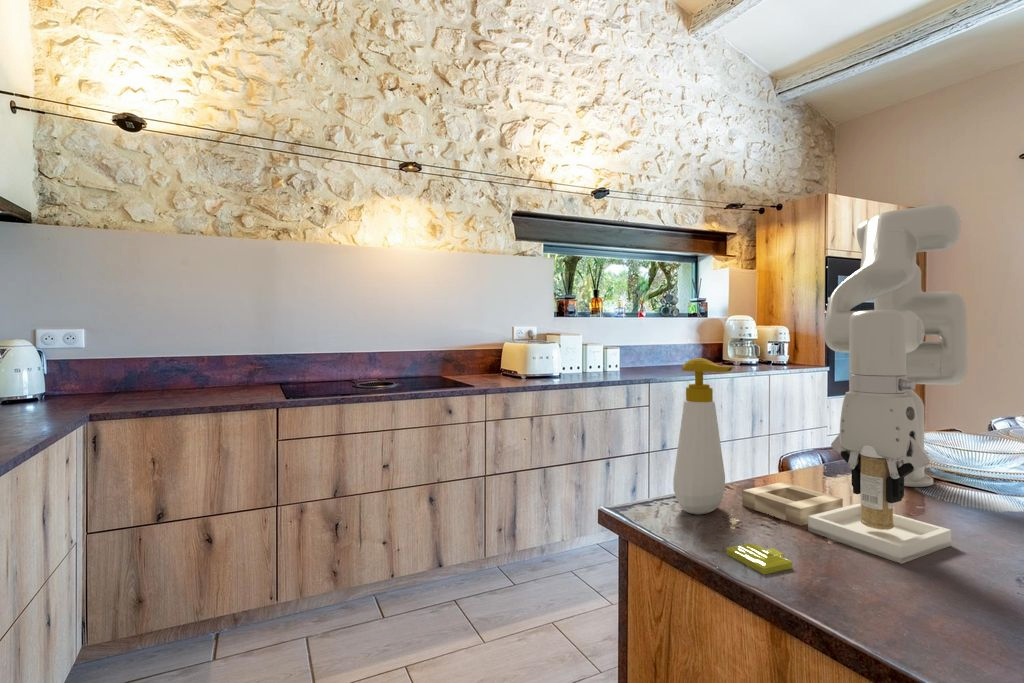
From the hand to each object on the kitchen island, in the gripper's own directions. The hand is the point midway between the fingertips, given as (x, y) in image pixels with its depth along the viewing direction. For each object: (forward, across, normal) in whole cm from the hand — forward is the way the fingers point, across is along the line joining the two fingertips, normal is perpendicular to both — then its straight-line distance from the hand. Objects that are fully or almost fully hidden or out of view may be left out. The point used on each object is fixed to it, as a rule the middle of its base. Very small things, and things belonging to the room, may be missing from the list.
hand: (876, 495), depth 83 cm
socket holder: (+7, +15, 0) cm, 16 cm away
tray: (+7, 0, 0) cm, 7 cm away
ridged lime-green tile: (+8, +3, +24) cm, 26 cm away
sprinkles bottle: (+5, 0, 0) cm, 5 cm away
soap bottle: (+7, +22, +15) cm, 28 cm away
